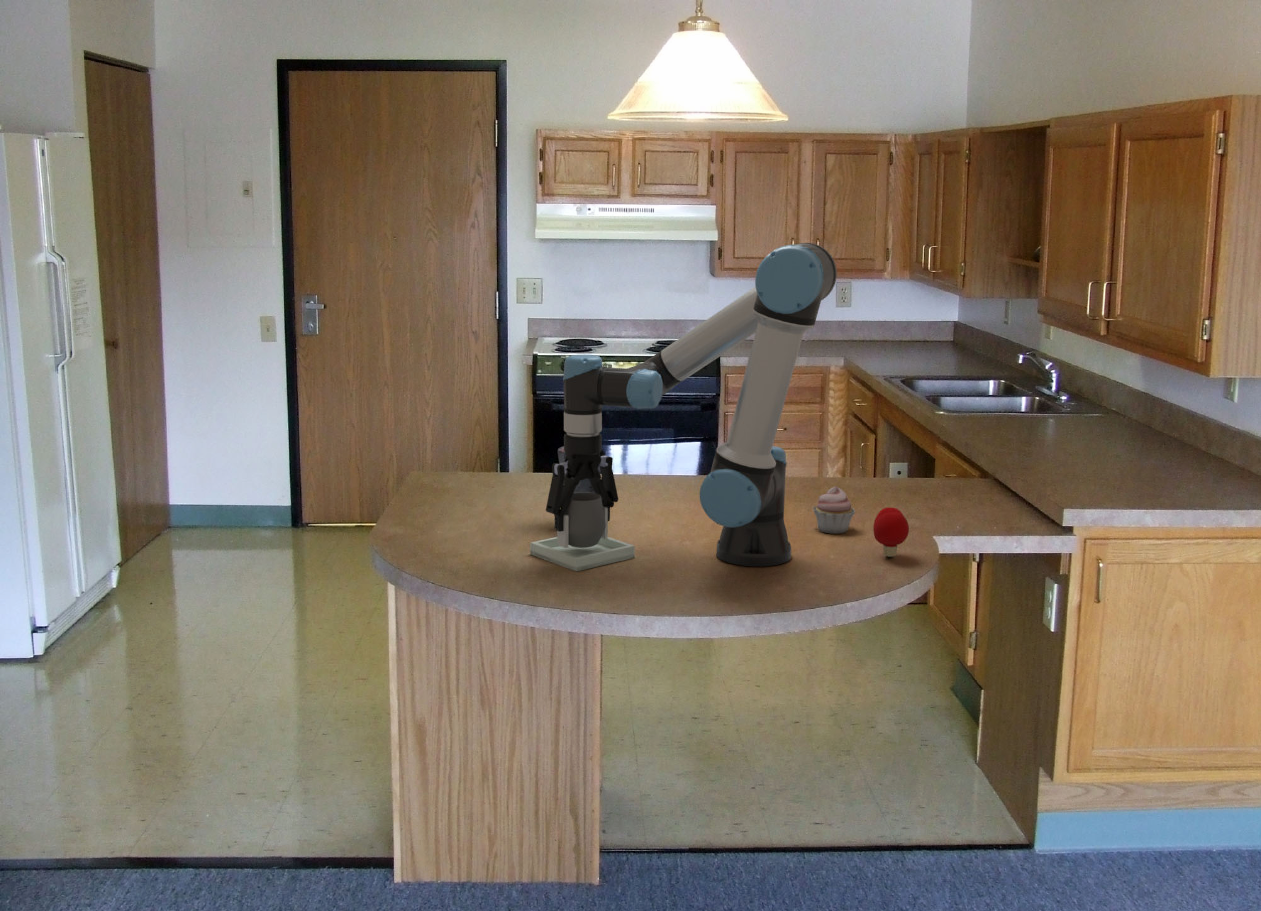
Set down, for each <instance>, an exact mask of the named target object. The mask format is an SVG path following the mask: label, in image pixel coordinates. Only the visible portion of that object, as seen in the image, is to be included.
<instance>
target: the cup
mask: <svg viewBox="0 0 1261 911" xmlns="http://www.w3.org/2000/svg"><path fill="white" fill-rule="evenodd" d="M565 515H568V545H570V546H572V547H578V548H587V547H592V546H595V545H597V544H598V542H599V540H600V538H601V536H602V534H603V532H604V530H605V527H606V522H605V517H604V511H603V505H602V499H601V496H600V495H599V494H596V493H590V492H575V493H573V495H572V498H571V500H570V503H569V505H568V508H567V510H566V513H565Z"/></svg>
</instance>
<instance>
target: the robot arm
mask: <svg viewBox="0 0 1261 911" xmlns="http://www.w3.org/2000/svg"><path fill="white" fill-rule="evenodd" d="M837 270H838V268H837V265H836V262H835V260H834V258H833V256H832V254H830V252H829V251H828V250H827V249H826V248H824V246H821V245H819V244H816V243H812V242H800V243H797V244H795V243H793V244H787V245H782V246H779V247H777V248H775V249H773V250H772V251H771V252H770V253H768V254H767V255H766V256H765V257H764V258H763V259H762V261H761V262H760V264H759V266H758V268H757V270H756V272H755V279H754V280H755V281H754V285H755V286H754V287H753V288H751V289H750V290H748V291H747V292H745V293H744V294H743V295H741V296H740V297H738V298H737V299H736V300H734V301H732V302H731V303H729V304H728V305H726V306H725V307H723V308H721V310H719V311H717V312H716V313H714V314H713V315H712V316H710V317H709V318H708V319H706V320H705V321H703V322H701V323H700V324H699V325H697V326H695V327H694V328H692V329H691V330H689V331H688V332H687V333H685V334H684V335H682V336H681V337H679V338H678V339H677V340H674V341H673V343H670V344H669V345H668V346H666V347H665V348H664V349H662V350H661V351H659V352H657V353H656V354H654V355H653V356H651V357H650V358H649V359H647V360H645V361H643V362H641V363H639V364H636V365H633V366H631V367H627V368H625V367H624V368H623V367H608V366H603V364H604V363H603V359H602V357H600V355H596V354H595V355H594V354H573V355H570V356H569V355H568V357H566V358H565V360H564V366H563V367H564V368H563V378H562V381H563V405H564V406H563V431H564V432H565V433H564V434H563V435H564V436H563V447H564V451H565V454H566V458H565V461H564V463H556V462H554V463H553V464H552V465H551V472H552V476H551V477H552V478H551V482H550V486H549V492H548V497H547V501H546V507H545V512H546V513H550V514H551V515H552V514H553V515H554V530H555V531H556V537H557V545H559V546H561V547H564V548H568V515H565V513H566V510H567V508H568V505H569V503H570V500H571V498H572V495H573V493H574V490H575V488H576V486H577V485H578V484H579V482H580V480H584V479H586V478H587V479H589V481H590V483H591V485H592V487H593V490H594V492H595V493H596V494H599V495H600V496H601V499H602V505H603V511H604V517H605V522H606V527H605V530H604V532H603V534H602V536H601V538H603V539H608V537H609V536H608V535H609V534H608V532H609V531H608V528H609V523H608V522H610V520H611V508H613V507H615V506H614V505H615V503H618V502H619V496H618V490H617V485H616V482H615V475H614V471H613V460H614V458H613V456H609V455H606V454H605V455H602V456H600V452H601V450H603V449H602V445H603V444H602V443H603V442H602V441H603V440H602V438H603V436H602V434H601V432H602V430H603V424H602V422H603V416H602V415H603V414H602V413H603V411H602V409H603V408H602V406H605V407H607V406H611V407H619V408H620V407H621V408H622V407H623V408H633V409H637V410H642V409H655V408H656V407H658V406H659V404H660V402H661V401H662V397H663V396H664V395H666V394H667V393H670V392H671V391H672V389H674V388H675V387H676V386H677V385H679V384H680V383H682V382H683V381H685V380H686V379H688V378H689V377H690V376H692V375H694V374H695V373H697V372H698V371H700V370H701V369H703V368H704V367H706V366H707V365H710V364H711V363H712V362H714V361H715V360H716V359H717V360H718V358H720V357H722V355H724V354H725V353H727V352H729V351H730V350H732V349H733V348H734V347H736V346H738V345H740V344H741V343H742V342H744V341H746V340H747V339H748V338H750V337H752V336H753V335H754V336H753V341H752V345H751V349H750V352H749V357H748V360H747V364H746V367H745V371H744V375H743V380H742V382H741V383H742V384H741V386H740V390H739V395H738V399H737V402H736V406H735V410H734V413H733V417H732V421H731V425H730V429H729V432H728V436H727V440H726V442H724V443H721V444H720V445H718V446H717V447H716V450H715V454H714V457H713V461H712V466H711V470H710V472H709V473H708V474H707V475H706V477H705V478H704V479H703V481H702V483H701V485H700V489H699V501H700V506H701V508H702V510H703V511H704V512H705V514H706V516H707V517H708V518H709V519H710V520H712V522H714V523H716V524H717V525H719V526H722V529H721V533H720V536H719V539H718V540H717V543H716V557H717V558H718V559H719V560H721V561H723V562H725V563H728V564H732V565H737V566H743V567H744V566H745V567H773V566H777V565H779V566H780V565H783V564H786V563H787V562H789V561H790V560H791V558H792V545H791V543H790V542H789V538H788V532H787V528H786V525H785V521H784V516H785V495H786V494H785V493H786V492H785V491H786V490H785V489H786V472H787V470H786V468H787V459H786V457H787V456H786V451H785V450H784V449H783V448H782V447H779V446H775V445H774V442H775V439H776V434H777V432H778V427H779V424H780V420H781V416H782V413H783V409H784V405H785V402H786V399H787V395H788V392H789V391H788V390H789V388H790V385H791V381H792V377H793V373H794V371H795V370H794V369H795V366H796V362H797V359H798V356H799V355H798V354H799V352H800V348H801V344H802V341H803V336H804V334H805V332H807V331H809V330H810V329H812V328H813V327H815V324H816V320H817V316H818V314H819V310H820V307H821V302H822V301H823V300H824V299H826V298H827V297H828V296H829V295H830V294H831V292H832V291H833V289H834V287H835V285H836V283H837V278H838V273H837V272H838V271H837ZM599 465H600V473H599V471H598V467H599ZM566 469H567V473H566ZM565 474H566V475H565ZM571 477H572V478H573V479H571ZM601 478H602V479H603V483H602V480H601ZM564 481H565V482H564ZM603 484H604V485H603Z"/></svg>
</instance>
